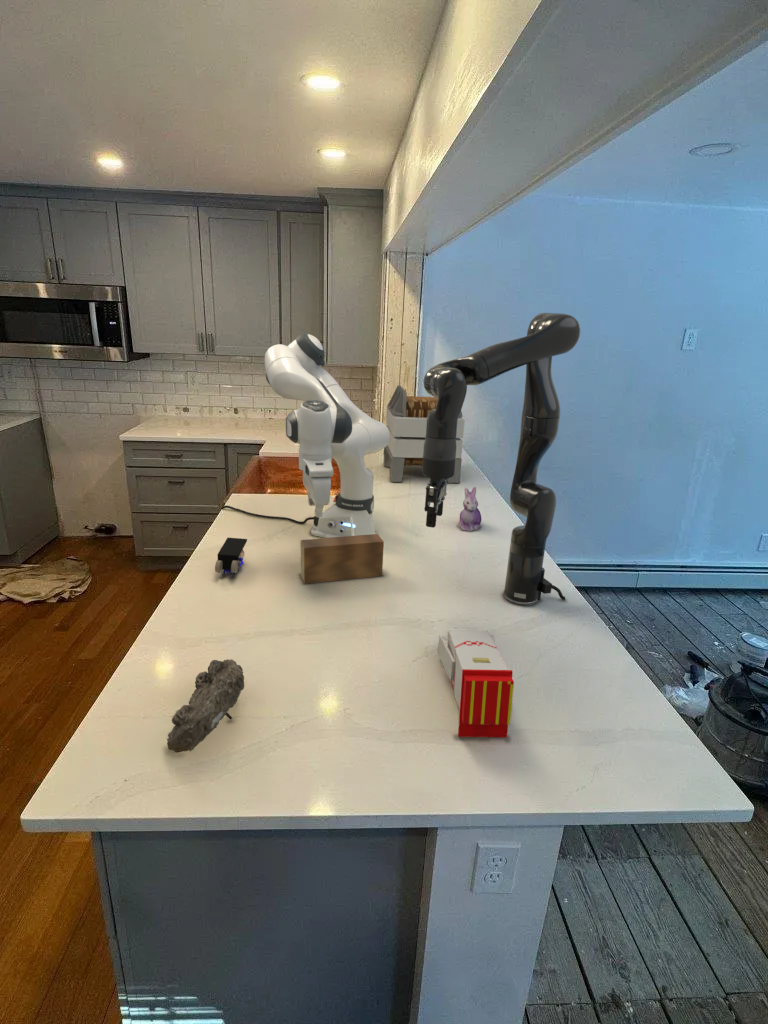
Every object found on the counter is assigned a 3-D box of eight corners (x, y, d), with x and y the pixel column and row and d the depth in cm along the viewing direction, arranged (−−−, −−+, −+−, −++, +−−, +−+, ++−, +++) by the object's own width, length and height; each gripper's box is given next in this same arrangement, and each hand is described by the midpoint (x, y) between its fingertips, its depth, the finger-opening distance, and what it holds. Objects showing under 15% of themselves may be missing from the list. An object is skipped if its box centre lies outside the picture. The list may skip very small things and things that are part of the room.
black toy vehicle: (238, 584, 162) (249, 557, 175) (236, 562, 158) (247, 536, 172) (215, 584, 161) (227, 556, 175) (212, 561, 158) (225, 535, 171)
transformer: (382, 463, 289) (386, 382, 275) (445, 464, 293) (451, 384, 279) (390, 482, 257) (394, 392, 243) (460, 483, 261) (468, 394, 247)
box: (304, 583, 161) (304, 548, 157) (300, 574, 166) (300, 539, 163) (382, 575, 168) (383, 541, 164) (376, 567, 173) (377, 533, 170)
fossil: (192, 660, 117) (244, 628, 112) (224, 691, 120) (276, 661, 115) (142, 746, 98) (202, 712, 93) (182, 779, 101) (242, 748, 96)
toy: (488, 613, 130) (523, 677, 101) (484, 667, 133) (517, 744, 104) (435, 612, 130) (455, 676, 101) (432, 666, 133) (451, 743, 103)
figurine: (467, 533, 203) (471, 493, 198) (451, 523, 211) (454, 485, 206) (488, 529, 207) (492, 490, 202) (471, 520, 215) (475, 482, 210)
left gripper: (297, 453, 161) (297, 499, 166) (310, 473, 143) (310, 524, 148) (319, 452, 163) (318, 498, 168) (334, 472, 145) (334, 522, 150)
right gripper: (450, 464, 124) (444, 533, 129) (460, 450, 137) (454, 513, 142) (416, 460, 125) (412, 528, 131) (429, 447, 138) (425, 509, 144)
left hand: (315, 510), depth 158 cm, fingers open, 8 cm apart
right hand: (434, 520), depth 136 cm, fingers open, 8 cm apart
